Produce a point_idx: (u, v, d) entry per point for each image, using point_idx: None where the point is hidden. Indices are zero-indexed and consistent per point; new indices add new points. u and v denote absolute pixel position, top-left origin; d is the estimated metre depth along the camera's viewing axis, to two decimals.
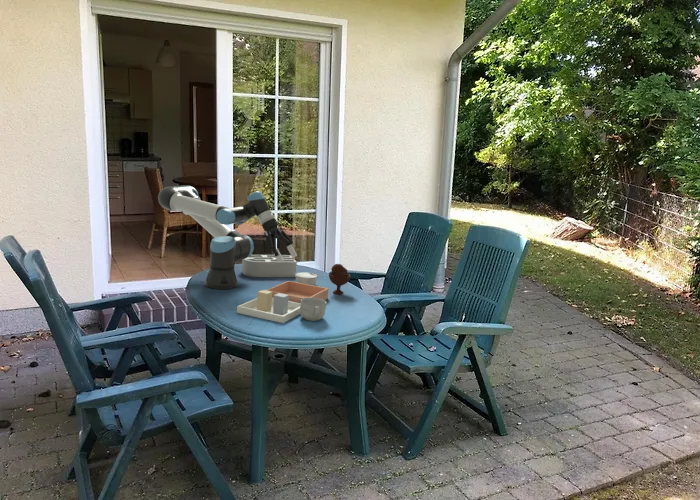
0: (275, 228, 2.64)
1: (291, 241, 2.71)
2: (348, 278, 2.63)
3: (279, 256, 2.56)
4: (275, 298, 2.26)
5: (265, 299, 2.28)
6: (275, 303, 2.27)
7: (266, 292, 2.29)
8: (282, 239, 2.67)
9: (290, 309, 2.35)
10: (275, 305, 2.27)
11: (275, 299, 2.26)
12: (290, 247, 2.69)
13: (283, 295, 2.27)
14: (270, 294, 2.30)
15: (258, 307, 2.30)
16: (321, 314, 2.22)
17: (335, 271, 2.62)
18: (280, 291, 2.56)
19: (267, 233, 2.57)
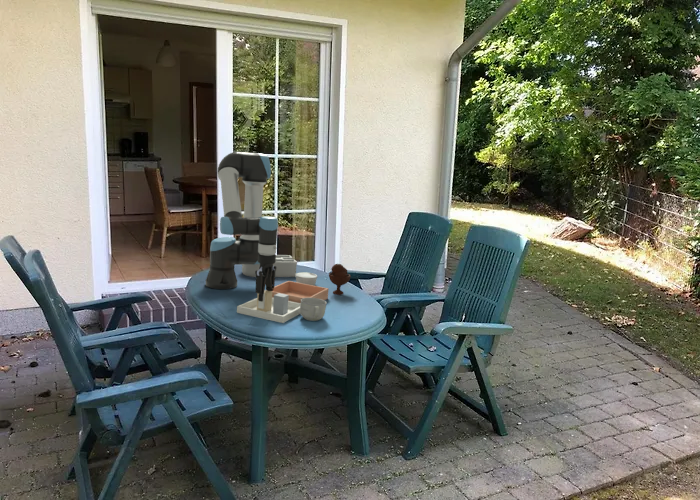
0: None
1: (273, 286, 2.33)
2: (348, 278, 2.63)
3: (262, 302, 2.28)
4: (275, 298, 2.26)
5: (265, 299, 2.28)
6: (275, 303, 2.27)
7: (266, 292, 2.29)
8: (267, 279, 2.31)
9: (290, 309, 2.35)
10: (275, 305, 2.27)
11: (275, 299, 2.26)
12: None
13: (283, 295, 2.27)
14: (270, 294, 2.30)
15: None
16: (321, 314, 2.22)
17: (335, 271, 2.62)
18: (280, 291, 2.56)
19: (259, 275, 2.22)
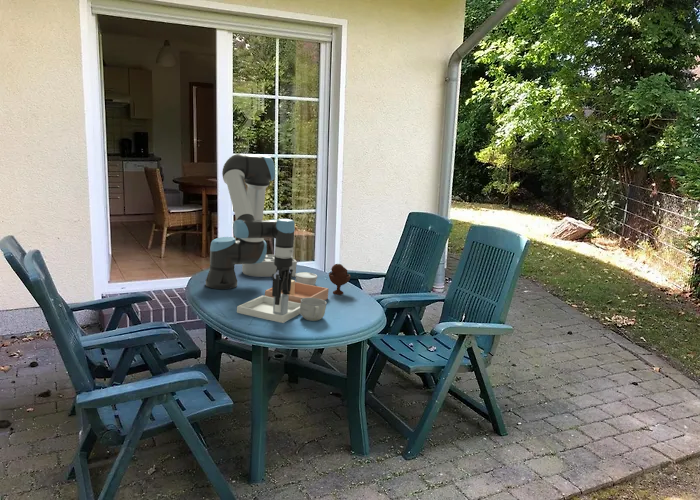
0: None
1: (289, 289, 2.31)
2: (348, 278, 2.63)
3: (278, 306, 2.25)
4: None
5: None
6: None
7: None
8: (283, 282, 2.28)
9: (290, 309, 2.35)
10: None
11: None
12: None
13: (283, 295, 2.27)
14: (293, 283, 2.51)
15: None
16: (321, 314, 2.22)
17: (335, 271, 2.62)
18: None
19: (276, 278, 2.19)
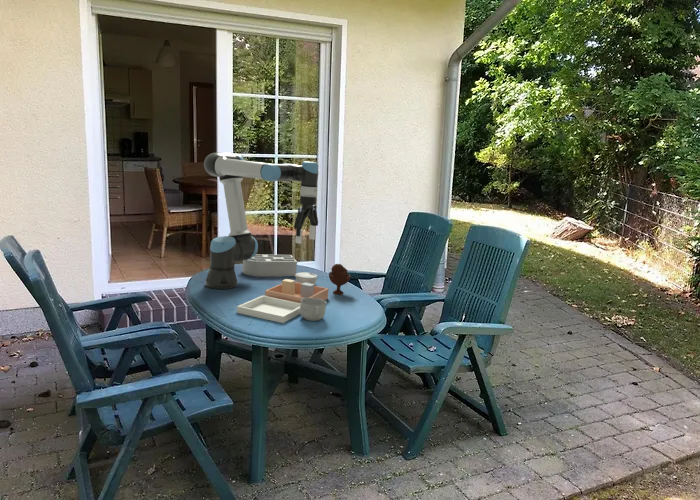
0: (310, 206, 2.49)
1: (317, 222, 2.58)
2: (348, 278, 2.63)
3: (299, 237, 2.44)
4: (302, 287, 2.46)
5: (289, 287, 2.49)
6: (302, 291, 2.47)
7: (290, 281, 2.50)
8: (310, 218, 2.53)
9: (290, 309, 2.35)
10: (302, 293, 2.47)
11: (302, 288, 2.46)
12: (313, 228, 2.56)
13: (309, 284, 2.47)
14: (293, 283, 2.51)
15: None
16: (321, 314, 2.22)
17: (335, 271, 2.62)
18: (280, 291, 2.56)
19: (301, 210, 2.42)
